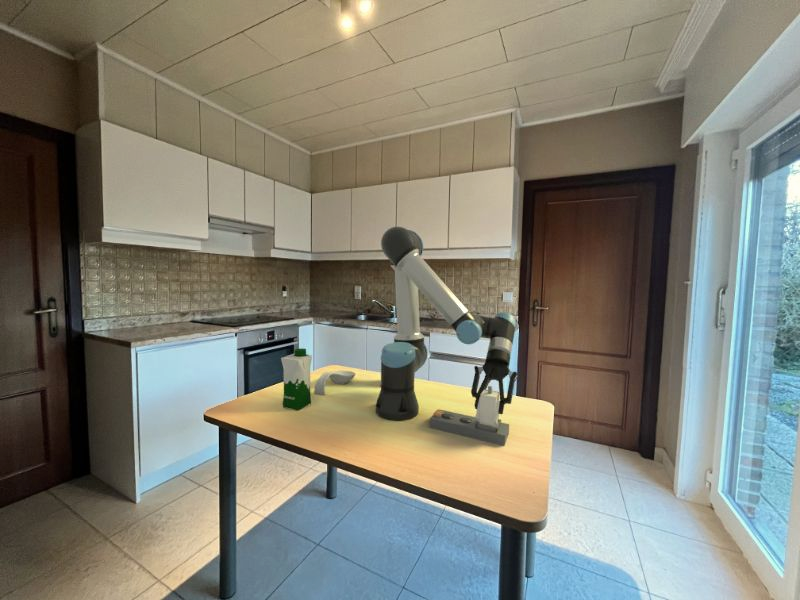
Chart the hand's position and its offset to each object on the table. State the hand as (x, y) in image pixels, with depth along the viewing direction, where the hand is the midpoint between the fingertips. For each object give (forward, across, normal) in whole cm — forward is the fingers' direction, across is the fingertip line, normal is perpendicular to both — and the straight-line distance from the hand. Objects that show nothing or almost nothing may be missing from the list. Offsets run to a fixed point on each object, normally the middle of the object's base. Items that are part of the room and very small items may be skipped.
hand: (486, 421), depth 97 cm
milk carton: (+9, +66, +1) cm, 67 cm away
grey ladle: (-7, +67, -16) cm, 69 cm away
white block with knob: (-1, 0, -5) cm, 5 cm away
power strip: (+1, +6, -7) cm, 9 cm away
